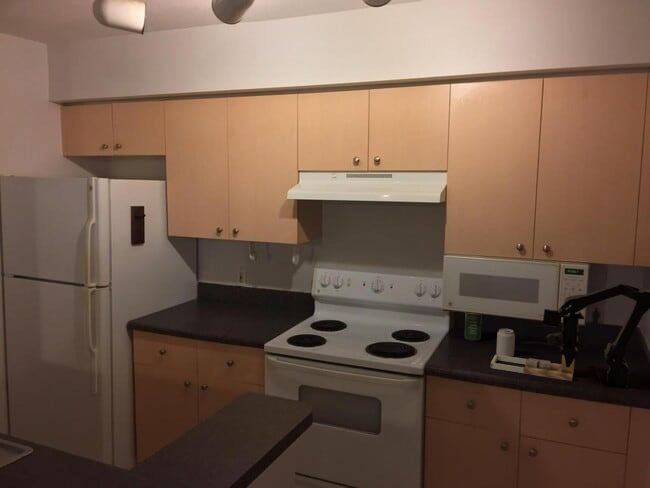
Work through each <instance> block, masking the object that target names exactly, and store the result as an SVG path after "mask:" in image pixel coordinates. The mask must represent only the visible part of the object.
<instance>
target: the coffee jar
mask: <svg viewBox="0 0 650 488" xmlns="http://www.w3.org/2000/svg"><path fill="white" fill-rule="evenodd" d="M482 320H483V313H482V314H475V313H466V312H465V320H464V321H465V323H464V339H465V340H468V341H471V342H476V341H477V342H478V341H480V340H481V337H482V323H483V321H482Z"/></svg>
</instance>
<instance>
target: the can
mask: <svg viewBox="0 0 650 488" xmlns="http://www.w3.org/2000/svg"><path fill="white" fill-rule="evenodd" d="M515 341H516V334H515V333H514V330H513V329H509V328H499V329H498V331H497V335H496V353H495V354H496V355H502V356H509V357H514V356H515Z"/></svg>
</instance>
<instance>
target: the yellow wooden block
mask: <svg viewBox="0 0 650 488" xmlns="http://www.w3.org/2000/svg"><path fill="white" fill-rule="evenodd" d="M574 369H575V359H574V360H573V362H572V364H571V365H570V367H569V368H568V367H566V362H565V357H564V355H562V354H561V372H563V373H570V374H573V375H574V371H575V370H574Z"/></svg>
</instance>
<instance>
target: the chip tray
mask: <svg viewBox="0 0 650 488" xmlns="http://www.w3.org/2000/svg"><path fill="white" fill-rule="evenodd" d="M527 359H528V358H521V357H514V356H510V357H509V356H502V355H498V354H497V353H495V354H494V357H493V358H492V360H491V362H490V369H495V370H502V371H508V372H514V373H520V374H524V373H523V372H524V367H523V366H516V365H509V364H503V363H499V362H498V363H497V361H500V362H501V361H502V362H507V363H515V364H521V365H526V360H527Z"/></svg>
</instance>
